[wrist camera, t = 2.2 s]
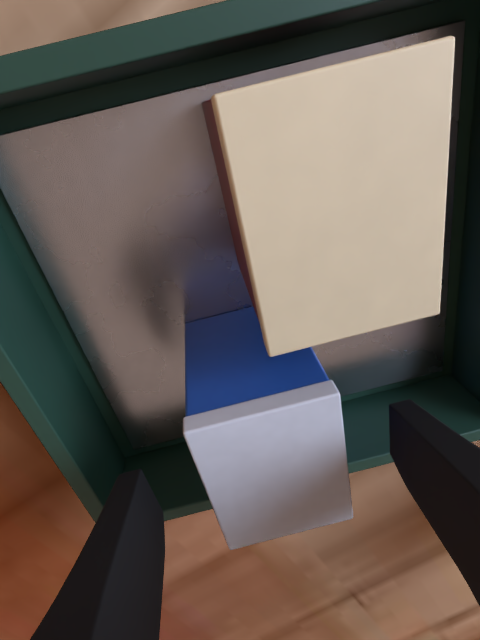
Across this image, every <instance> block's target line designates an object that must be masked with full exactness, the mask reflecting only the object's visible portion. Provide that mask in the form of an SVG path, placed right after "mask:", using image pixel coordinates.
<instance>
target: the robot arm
mask: <svg viewBox="0 0 480 640" xmlns="http://www.w3.org/2000/svg"><path fill="white" fill-rule="evenodd" d="M389 434H390V454H391V456H392V459H393V461H394V463H395V465H396V467H397V469H398V471H399V473H400V475H401V477H402V479H403V481H404V483H405V485H406V487H407V488H408V490H409V492H410V493H411V495H412V497H413V498H414V500H415V501H416V503H417V504H418V506H419V508H420V509H421V511H422V512H423V514H424V515H425V517H426V519H427V520H428V522H429V523H430V525H431V526H432V528H433V529H434V531H435V533H436V534H437V536H438V537H439V539H440V540H441V542H442V543H443V545H444V547H445V548H446V550H447V551H448V553H449V554H450V556H451V557H452V559H453V561H454V562H455V564H456V565H457V567H458V568H459V570H460V572H461V574H462V575H463V577H464V579H465V580H466V582H467V584H468V585H469V587H470V589H471V591H472V593H473V595H474V597H475V598H476V600H477V602H478V604H479V606H480V448H479V447H477V446H476V445H474V444H473V443H471V442H470V441H468V440H467V439H465V438H464V437H462V436H461V435H460V434H458V433H457V432H455V431H454V430H452V429H451V428H450V427H448V426H447V425H445V424H444V423H443V422H441V421H440V420H438V419H437V418H436V417H434V416H433V415H432V414H430V413H429V412H427V411H426V410H425V409H423V408H422V407H421V406H419V405H418V404H417V403H415V402H414V401H412V400H411V399H407V400H403V401H400V402H396V403H392V404H389ZM164 559H165V535H164V514H163V511H162V509H161V507H160V505H159V503H158V501H157V499H156V497H155V495H154V493H153V491H152V489H151V487H150V485H149V483H148V481H147V479H146V477H145V476H144V474H143V472H142V470H141V469H137V470H133V471H129V472H125V473H122V474H119V476H118V477H117V479H116V482H115V484H114V486H113V488H112V490H111V492H110V494H109V497H108V499H107V501H106V503H105V505H104V507H103V509H102V511H101V513H100V515H99V517H98V520H97V522H96V524H95V526H94V528H93V530H92V532H91V534H90V536H89V537H88V539H87V541H86V543H85V545H84V547H83V549H82V551H81V553H80V555H79V557H78V559H77V561H76V563H75V564H74V566H73V568H72V570H71V572H70V573H69V575H68V577H67V579H66V581H65V582H64V584H63V586H62V588H61V589H60V591H59V593H58V595H57V597H56V598H55V600H54V602H53V603H52V605H51V607H50V608H49V610H48V612H47V613H46V615H45V617H44V618H43V620H42V622H41V623H40V625H39V626H38V628H37V630H36V631H35V633H34V634H33V636H32V637H31V639H30V640H159V632H160V618H161V604H162V590H163V575H164Z"/></svg>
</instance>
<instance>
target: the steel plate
mask: <svg viewBox="0 0 480 640" xmlns="http://www.w3.org/2000/svg"><path fill="white" fill-rule="evenodd" d="M464 33H465V20H461V21H457V22H453V23H449V24H445V25H441V26H437V27H433V28H429V29H425V30H421V31H417V32H413V33H409V34H405V35H401V36H397V37H393V38H388V39H384V40H380V41H376V42H372V43H368V44H364V45H360V46H356V47H352V48H348V49H344V50H340V51H336V52H332V53H328V54H324V55H320V56H315V57H311V58H307V59H303V60H299V61H295V62H291V63H287V64H283V65H279V66H275V67H271V68H267V69H263V70H259V71H255V72H251V73H247V74H243V75H238V76H234V77H230V78H226V79H222V80H218V81H214V82H210V83H206V84H202V85H198V86H194V87H190V88H186V89H182V90H178V91H174V92H170V93H165V94H161V95H157V96H153V97H149V98H145V99H141V100H137V101H133V102H129V103H125V104H121V105H117V106H113V107H109V108H105V109H101V110H97V111H92V112H88V113H84V114H80V115H76V116H72V117H68V118H64V119H60V120H56V121H52V122H48V123H44V124H40V125H36V126H32V127H28V128H24V129H20V130H15V131H11V132H7V133H3V134H0V189H1V191H2V193H3V195H4V197H5V199H6V201H7V202H8V204H9V206H10V208H11V210H12V212H13V214H14V216H15V218H16V220H17V222H18V224H19V226H20V228H21V230H22V232H23V234H24V236H25V238H26V240H27V242H28V244H29V246H30V248H31V250H32V252H33V254H34V256H35V257H36V259H37V261H38V263H39V265H40V267H41V269H42V271H43V273H44V275H45V277H46V279H47V281H48V283H49V285H50V287H51V289H52V291H53V293H54V295H55V297H56V299H57V301H58V303H59V305H60V307H61V309H62V310H63V312H64V314H65V316H66V318H67V320H68V322H69V324H70V326H71V328H72V330H73V332H74V334H75V336H76V338H77V340H78V342H79V344H80V346H81V348H82V350H83V352H84V354H85V356H86V358H87V360H88V362H89V364H90V365H91V367H92V369H93V371H94V373H95V375H96V377H97V379H98V381H99V383H100V385H101V387H102V389H103V391H104V393H105V395H106V397H107V399H108V401H109V403H110V405H111V407H112V409H113V411H114V413H115V415H116V417H117V418H118V420H119V422H120V424H121V426H122V428H123V430H124V432H125V434H126V436H127V438H128V440H129V442H130V444H131V446H132V448H133V450H134V449H138V448H142V447H146V446H150V445H154V444H158V443H162V442H166V441H170V440H173V439H177V438H181V437H184V436H183V418H184V417H185V324H186V323H190V322H194V321H198V320H202V319H206V318H210V317H214V316H218V315H221V314H225V313H229V312H233V311H237V310H241V309H245V308H249V307H253V304H252V301H251V298H250V296H249V293H248V290H247V287H246V284H245V282H244V279H243V276H242V273H241V270H240V268H239V264H238V260H237V256H236V251H235V247H234V243H233V238H232V234H231V230H230V225H229V221H228V217H227V212H226V208H225V204H224V199H223V195H222V191H221V186H220V182H219V177H218V173H217V169H216V164H215V160H214V156H213V151H212V147H211V143H210V138H209V134H208V130H207V125H206V121H205V117H204V112H203V108H202V102H203V101H207V100H210V99H211V97H212V96H213V95H214V94H217V93H221V92H225V91H229V90H233V89H237V88H241V87H245V86H249V85H253V84H257V83H261V82H265V81H269V80H273V79H277V78H281V77H285V76H289V75H293V74H297V73H302V72H306V71H310V70H314V69H318V68H322V67H326V66H330V65H334V64H338V63H342V62H346V61H350V60H354V59H358V58H362V57H366V56H370V55H374V54H378V53H383V52H387V51H391V50H395V49H399V48H403V47H407V46H411V45H415V44H419V43H423V42H427V41H431V40H435V39H439V38H443V37H447V36H453V37H455V51H454V69H453V87H452V105H451V123H450V141H449V159H448V177H447V195H446V213H445V231H444V249H443V266H442V284H441V302H440V313H439V314H438V315H434V316H430V317H426V318H422V319H419V320H415V321H411V322H407V323H403V324H399V325H395V326H391V327H387V328H383V329H379V330H375V331H371V332H367V333H363V334H360V335H356V336H352V337H348V338H344V339H340V340H336V341H332V342H328V343H324V344H320V345H316V346H312V349H313V350H314V352H315V354H316V356H317V358H318V360H319V362H320V363H321V365H322V367H323V369H324V371H325V373H326V375H327V376H328V378H329V380H332V381H333V382H334V384H335V385H336V387H337V389H338V391H339V393H340V397H342V396H345V395H349V394H353V393H357V392H361V391H365V390H369V389H373V388H377V387H381V386H385V385H388V384H392V383H396V382H400V381H404V380H408V379H412V378H416V377H420V376H424V375H428V374H431V373H435V372H439V371H442V370H443V354H444V339H445V324H446V308H447V293H448V278H449V262H450V247H451V232H452V216H453V201H454V186H455V170H456V155H457V140H458V125H459V109H460V94H461V79H462V63H463V48H464Z"/></svg>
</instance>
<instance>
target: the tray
mask: <svg viewBox="0 0 480 640" xmlns="http://www.w3.org/2000/svg"><path fill="white" fill-rule="evenodd" d="M461 20H465V33H464V48H463V63H462V79H461V94H460V109H459V125H458V140H457V155H456V170H455V186H454V201H453V216H452V232H451V247H450V262H449V278H448V293H447V308H446V324H445V339H444V354H443V370H442V371H439V372H435V373H431V374H428V375H424V376H420V377H416V378H412V379H408V380H404V381H400V382H396V383H392V384H388V385H385V386H381V387H377V388H373V389H369V390H365V391H361V392H357V393H353V394H349V395H345V396H342V397H340V398H341V407H342V416H343V426H344V435H345V444H346V454H347V463H348V472H349V473H353V472H357V471H361V470H365V469H369V468H373V467H376V466H380V465H384V464H388V463H392V462H394V461H393V459H392V456H391V454H390V434H389V404H392V403H396V402H400V401H403V400H407V399H411V400H412V401H414V402H415V403H417V404H418V405H419V406H421V407H422V408H423V409H425V410H426V411H427V412H429V413H430V414H432V415H433V416H434V417H436V418H437V419H438V420H440V421H441V422H443V423H444V424H445V425H447V426H448V427H450V428H451V429H452V430H454V431H455V432H457V433H458V434H460V435H461V436H462V437H464V438H465V439H467V440H468V441H470V442H473V441H477V440H480V0H227V1H223V2H219V3H215V4H210V5H206V6H202V7H198V8H194V9H190V10H186V11H182V12H178V13H174V14H170V15H165V16H161V17H157V18H153V19H149V20H145V21H141V22H137V23H133V24H129V25H125V26H121V27H116V28H112V29H108V30H104V31H100V32H96V33H92V34H88V35H84V36H80V37H76V38H71V39H67V40H63V41H59V42H55V43H51V44H47V45H43V46H39V47H35V48H31V49H26V50H22V51H18V52H14V53H10V54H6V55H2V56H0V134H3V133H7V132H11V131H15V130H20V129H24V128H28V127H32V126H36V125H40V124H44V123H48V122H52V121H56V120H60V119H64V118H68V117H72V116H76V115H80V114H84V113H88V112H92V111H97V110H101V109H105V108H109V107H113V106H117V105H121V104H125V103H129V102H133V101H137V100H141V99H145V98H149V97H153V96H157V95H161V94H165V93H170V92H174V91H178V90H182V89H186V88H190V87H194V86H198V85H202V84H206V83H210V82H214V81H218V80H222V79H226V78H230V77H234V76H238V75H243V74H247V73H251V72H255V71H259V70H263V69H267V68H271V67H275V66H279V65H283V64H287V63H291V62H295V61H299V60H303V59H307V58H311V57H315V56H320V55H324V54H328V53H332V52H336V51H340V50H344V49H348V48H352V47H356V46H360V45H364V44H368V43H372V42H376V41H380V40H384V39H388V38H393V37H397V36H401V35H405V34H409V33H413V32H417V31H421V30H425V29H429V28H433V27H437V26H441V25H445V24H449V23H453V22H457V21H461ZM0 382H1V383H2V385H3V386H4V388H5V389H6V391H7V392H8V394H9V395H10V397H11V398H12V400H13V401H14V403H15V404H16V406H17V407H18V409H19V410H20V412H21V413H22V414H23V416H24V417H25V419H26V420H27V422H28V423H29V425H30V426H31V428H32V429H33V431H34V432H35V434H36V435H37V437H38V438H39V440H40V441H41V443H42V444H43V446H44V447H45V449H46V450H47V452H48V453H49V455H50V456H51V458H52V459H53V460H54V462H55V463H56V465H57V466H58V468H59V469H60V471H61V472H62V474H63V475H64V477H65V478H66V480H67V481H68V483H69V484H70V486H71V487H72V489H73V490H74V492H75V493H76V495H77V496H78V498H79V499H80V501H81V502H82V503H83V505H84V506H85V508H86V509H87V511H88V512H89V514H90V515H91V517H92V518H93V520H94V521H95V523H96V522H97V520H98V517H99V515H100V513H101V511H102V509H103V507H104V505H105V503H106V501H107V499H108V497H109V494H110V492H111V490H112V488H113V486H114V484H115V482H116V479H117V477H118V476H119V474H122V473H125V472H129V471H133V470H137V469H141V470H142V472H143V474H144V476H145V477H146V479H147V481H148V483H149V485H150V487H151V489H152V491H153V493H154V495H155V497H156V499H157V501H158V503H159V505H160V507H161V509H162V511H163V514H164V521H167V520H171V519H175V518H179V517H182V516H186V515H190V514H194V513H198V512H202V511H206V510H210V509H213V507H212V505H211V502H210V500H209V497H208V495H207V492H206V490H205V488H204V485H203V483H202V480H201V478H200V475H199V473H198V470H197V468H196V465H195V463H194V460H193V458H192V455H191V453H190V450H189V448H188V445H187V443H186V440H185V438H184V437H181V438H177V439H173V440H170V441H166V442H162V443H158V444H154V445H150V446H146V447H142V448H138V449H134V450H133V448H132V446H131V444H130V442H129V440H128V438H127V436H126V434H125V432H124V430H123V428H122V426H121V424H120V422H119V420H118V418H117V417H116V415H115V413H114V411H113V409H112V407H111V405H110V403H109V401H108V399H107V397H106V395H105V393H104V391H103V389H102V387H101V385H100V383H99V381H98V379H97V377H96V375H95V373H94V371H93V369H92V367H91V365H90V364H89V362H88V360H87V358H86V356H85V354H84V352H83V350H82V348H81V346H80V344H79V342H78V340H77V338H76V336H75V334H74V332H73V330H72V328H71V326H70V324H69V322H68V320H67V318H66V316H65V314H64V312H63V310H62V309H61V307H60V305H59V303H58V301H57V299H56V297H55V295H54V293H53V291H52V289H51V287H50V285H49V283H48V281H47V279H46V277H45V275H44V273H43V271H42V269H41V267H40V265H39V263H38V261H37V259H36V257H35V256H34V254H33V252H32V250H31V248H30V246H29V244H28V242H27V240H26V238H25V236H24V234H23V232H22V230H21V228H20V226H19V224H18V222H17V220H16V218H15V216H14V214H13V212H12V210H11V208H10V206H9V204H8V202H7V201H6V199H5V197H4V195H3V193H2V191H1V189H0Z"/></svg>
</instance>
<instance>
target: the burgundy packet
mask: <svg viewBox="0 0 480 640" xmlns="http://www.w3.org/2000/svg"><path fill="white" fill-rule="evenodd" d="M454 51H455V37H453V36H447V37H443V38H439V39H435V40H431V41H427V42H423V43H419V44H415V45H411V46H407V47H403V48H399V49H395V50H391V51H387V52H383V53H378V54H374V55H370V56H366V57H362V58H358V59H354V60H350V61H346V62H342V63H338V64H334V65H330V66H326V67H322V68H318V69H314V70H310V71H306V72H302V73H297V74H293V75H289V76H285V77H281V78H277V79H273V80H269V81H265V82H261V83H257V84H253V85H249V86H245V87H241V88H237V89H233V90H229V91H225V92H221V93H217V94H214V95H213V96H212V97H211V99H210V100H207V101H203V102H202V108H203V112H204V117H205V121H206V125H207V130H208V134H209V138H210V143H211V147H212V151H213V156H214V160H215V164H216V169H217V173H218V177H219V182H220V186H221V191H222V195H223V199H224V204H225V208H226V212H227V217H228V221H229V225H230V230H231V234H232V238H233V243H234V247H235V251H236V256H237V260H238V264H239V268H240V270H241V273H242V276H243V279H244V282H245V284H246V287H247V290H248V293H249V296H250V298H251V301H252V304H253V307H254V310H255V312H256V315H257V318H258V321H259V324H260V327H261V331H262V336H263V341H264V345H265V347H266V350H267V353H268V355H269V356H270V357H273V356H277V355H281V354H285V353H289V352H293V351H297V350H301V349H304V348H308V347H312V346H316V345H320V344H324V343H328V342H332V341H336V340H340V339H344V338H348V337H352V336H356V335H360V334H363V333H367V332H371V331H375V330H379V329H383V328H387V327H391V326H395V325H399V324H403V323H407V322H411V321H415V320H419V319H422V318H426V317H430V316H434V315H438V314H439V313H440V302H441V284H442V266H443V249H444V231H445V213H446V195H447V177H448V159H449V141H450V123H451V105H452V87H453V69H454Z"/></svg>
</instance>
